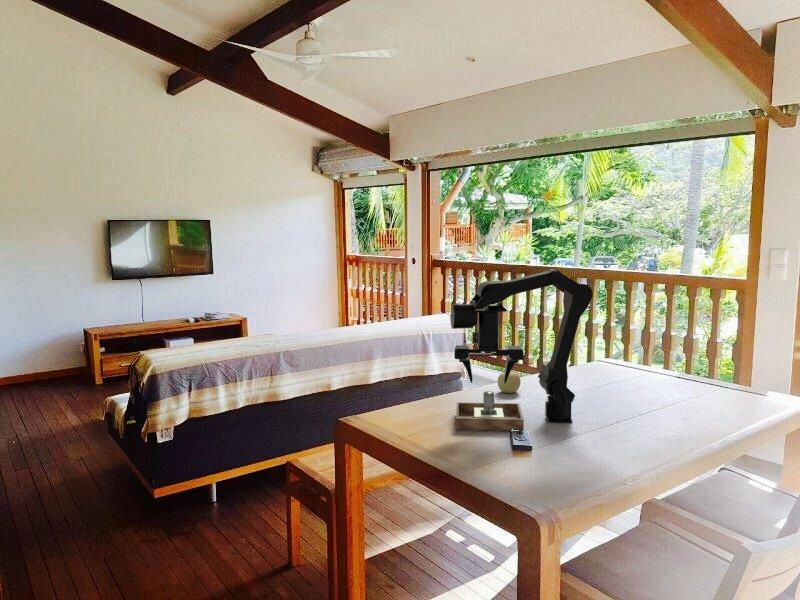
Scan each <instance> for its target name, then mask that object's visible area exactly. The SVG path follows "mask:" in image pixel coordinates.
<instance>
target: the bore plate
mask: <svg viewBox="0 0 800 600" xmlns="http://www.w3.org/2000/svg"><path fill="white" fill-rule="evenodd" d="M474 418H504V415H503V410H502V408H494V415H483V408H474Z"/></svg>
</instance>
